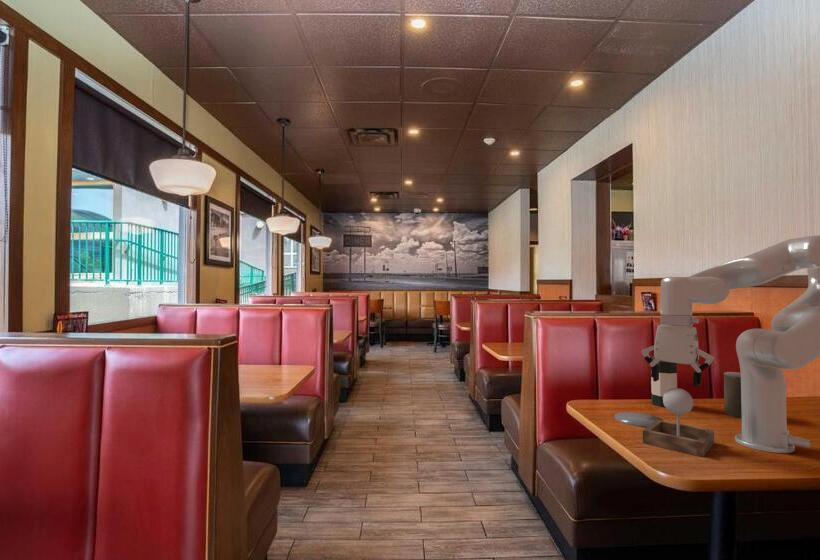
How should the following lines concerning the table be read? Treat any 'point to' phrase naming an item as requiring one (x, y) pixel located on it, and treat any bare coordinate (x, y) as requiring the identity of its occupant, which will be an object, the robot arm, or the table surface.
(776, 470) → the table surface
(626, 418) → the gray round disc
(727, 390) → the pillar candle
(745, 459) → the table surface
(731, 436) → the table surface
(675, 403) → the eyeball on stick
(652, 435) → the frame
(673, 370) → the wine bottle
